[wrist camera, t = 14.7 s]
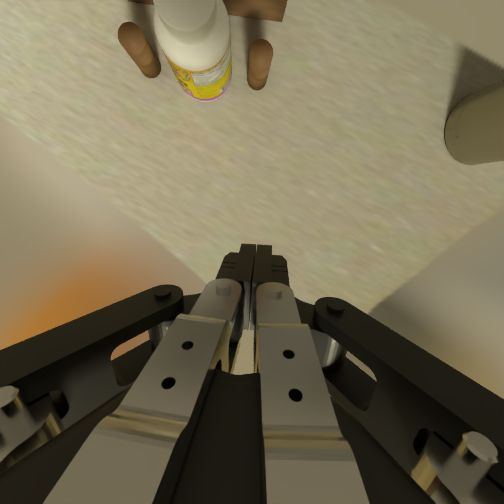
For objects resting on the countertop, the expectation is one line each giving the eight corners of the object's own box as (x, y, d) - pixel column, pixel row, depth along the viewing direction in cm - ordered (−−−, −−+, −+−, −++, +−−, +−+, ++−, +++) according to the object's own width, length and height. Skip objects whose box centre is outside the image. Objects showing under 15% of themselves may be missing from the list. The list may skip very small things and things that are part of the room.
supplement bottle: (170, 52, 30) (123, -51, 18) (223, 37, 30) (213, -75, 18) (187, 110, 32) (156, 54, 19) (238, 96, 32) (239, 31, 19)
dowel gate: (267, 69, 31) (274, 40, 26) (265, 91, 32) (271, 67, 26) (140, 54, 30) (117, 20, 24) (140, 76, 31) (118, 48, 25)
